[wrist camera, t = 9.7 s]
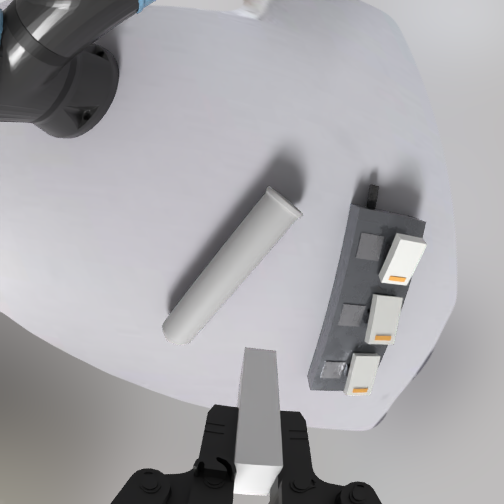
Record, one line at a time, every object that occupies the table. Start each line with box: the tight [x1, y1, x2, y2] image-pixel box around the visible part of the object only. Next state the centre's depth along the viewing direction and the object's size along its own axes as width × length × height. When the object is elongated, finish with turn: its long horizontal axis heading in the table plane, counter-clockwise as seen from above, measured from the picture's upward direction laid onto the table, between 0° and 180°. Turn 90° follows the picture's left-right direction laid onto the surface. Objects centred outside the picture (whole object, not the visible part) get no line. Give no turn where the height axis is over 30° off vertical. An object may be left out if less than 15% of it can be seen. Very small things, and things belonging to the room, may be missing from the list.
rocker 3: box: [365, 294, 403, 345], centre depth 33 cm, size 6×4×2 cm, turn 172°
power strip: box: [307, 185, 426, 391], centre depth 36 cm, size 31×10×4 cm, turn 172°
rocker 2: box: [378, 233, 427, 285], centre depth 31 cm, size 6×4×2 cm, turn 172°
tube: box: [162, 186, 303, 345], centre depth 36 cm, size 5×5×25 cm
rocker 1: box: [344, 353, 381, 396], centre depth 36 cm, size 6×4×2 cm, turn 173°
